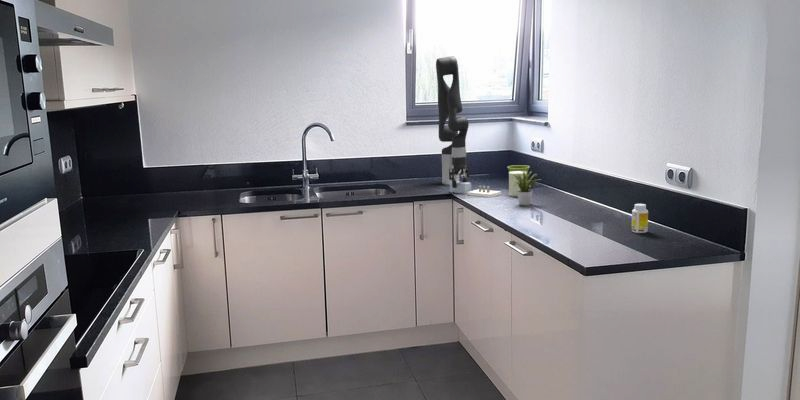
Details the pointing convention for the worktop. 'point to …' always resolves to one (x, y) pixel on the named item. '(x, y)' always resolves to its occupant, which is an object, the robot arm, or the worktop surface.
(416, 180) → the worktop surface
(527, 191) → the house plant
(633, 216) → the supplement bottle
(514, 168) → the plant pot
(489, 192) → the white peg board
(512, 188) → the can
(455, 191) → the plug housing
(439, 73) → the robot arm
